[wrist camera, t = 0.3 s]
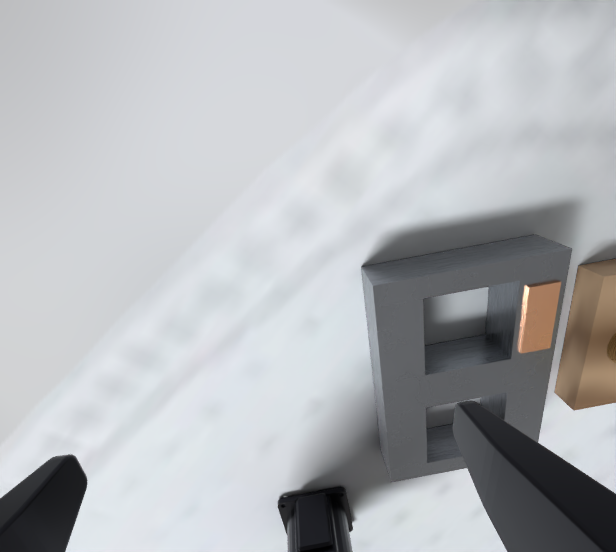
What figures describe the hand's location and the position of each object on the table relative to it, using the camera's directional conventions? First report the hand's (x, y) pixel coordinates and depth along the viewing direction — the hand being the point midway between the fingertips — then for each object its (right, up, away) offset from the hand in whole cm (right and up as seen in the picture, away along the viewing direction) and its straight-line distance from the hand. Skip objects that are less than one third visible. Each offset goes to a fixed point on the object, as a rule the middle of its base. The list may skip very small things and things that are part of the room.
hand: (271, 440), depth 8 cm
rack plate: (+12, -2, +18) cm, 22 cm away
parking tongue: (+25, 0, +18) cm, 30 cm away
